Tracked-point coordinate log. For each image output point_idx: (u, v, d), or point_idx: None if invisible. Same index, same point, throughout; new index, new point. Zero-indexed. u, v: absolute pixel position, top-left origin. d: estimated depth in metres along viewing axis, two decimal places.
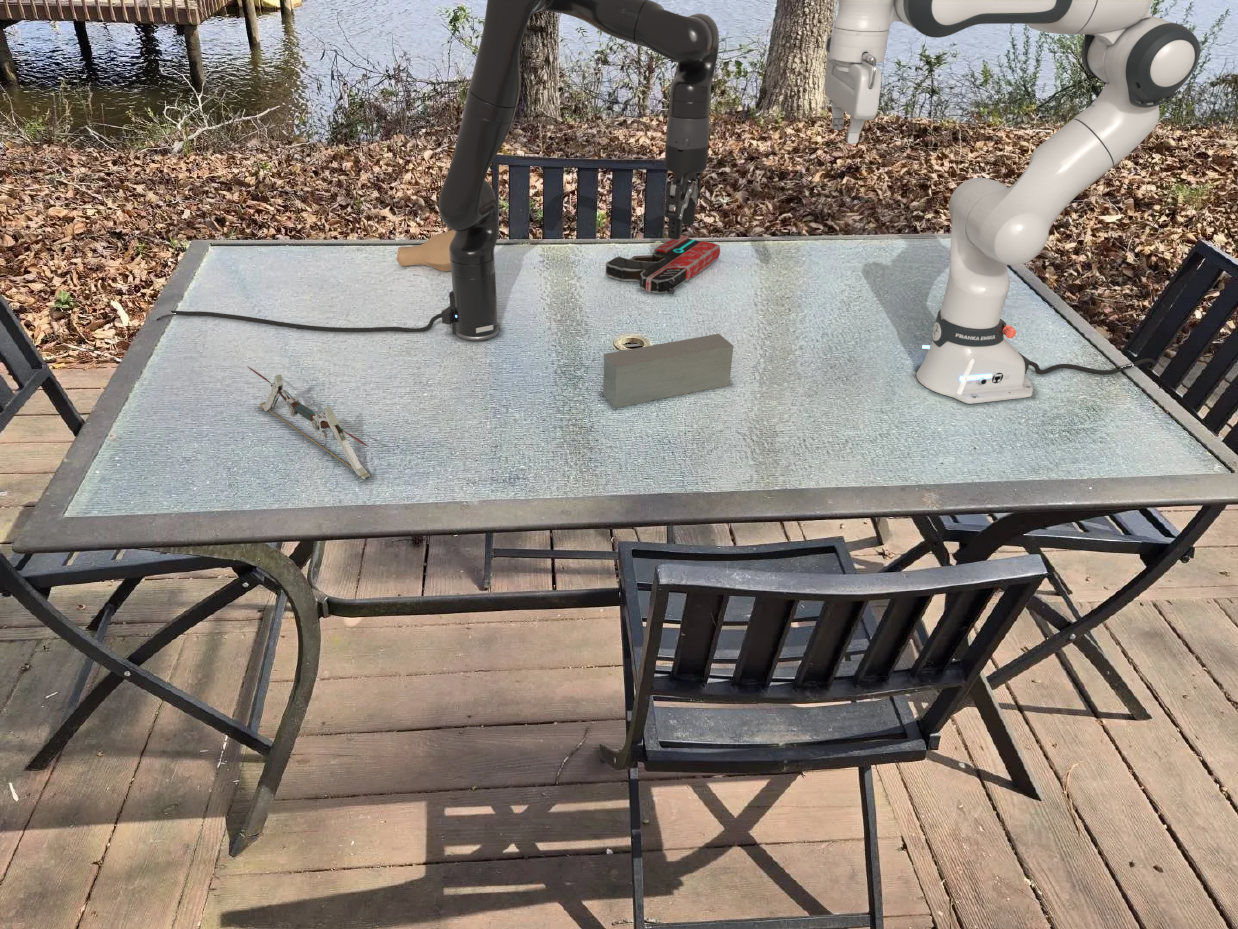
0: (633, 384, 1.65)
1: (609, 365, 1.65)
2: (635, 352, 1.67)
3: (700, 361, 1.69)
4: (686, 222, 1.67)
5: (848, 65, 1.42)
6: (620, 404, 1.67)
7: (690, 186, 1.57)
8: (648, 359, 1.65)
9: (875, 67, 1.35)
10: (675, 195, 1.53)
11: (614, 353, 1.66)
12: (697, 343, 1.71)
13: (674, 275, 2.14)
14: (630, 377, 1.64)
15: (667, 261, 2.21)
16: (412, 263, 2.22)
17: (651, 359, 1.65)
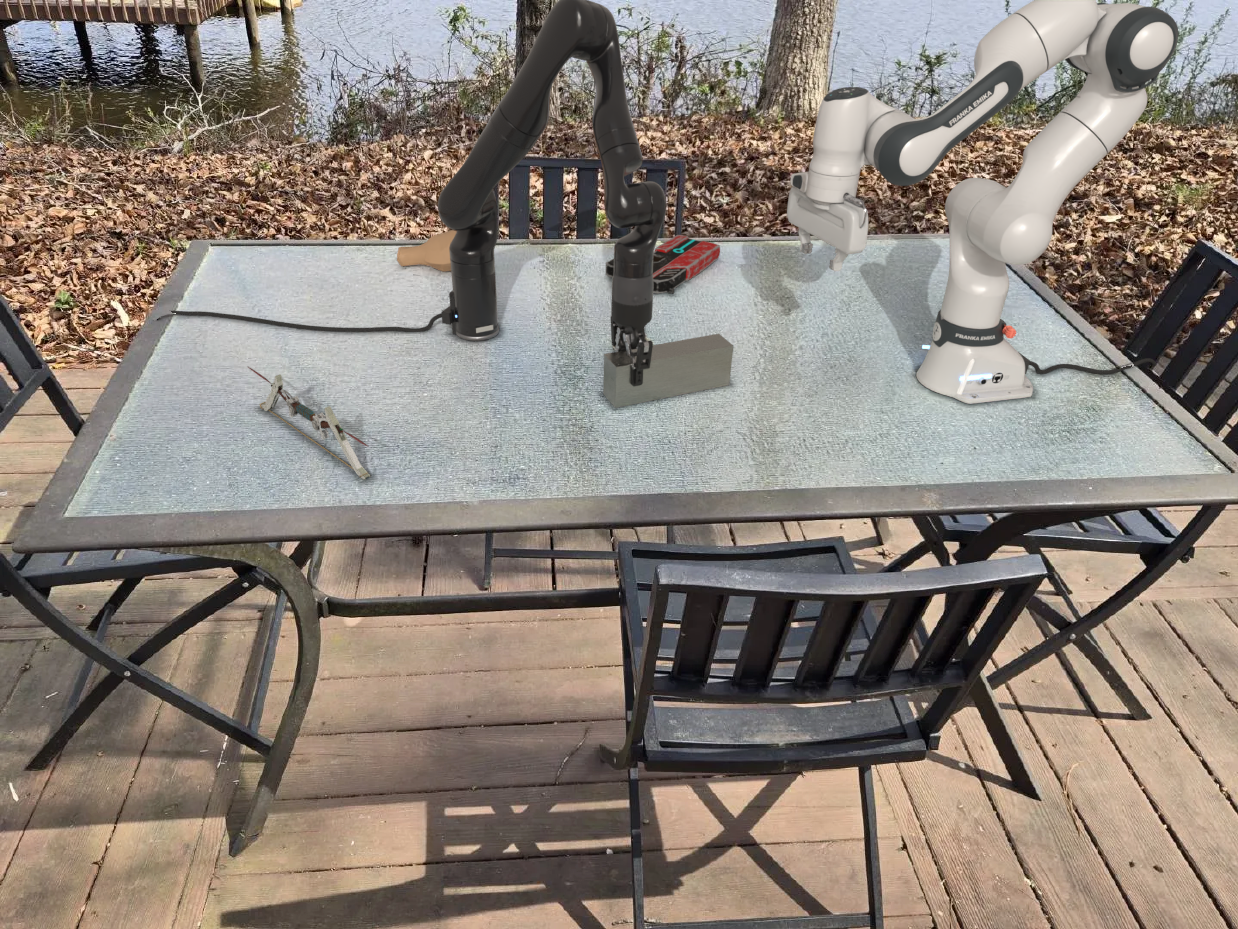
0: None
1: (609, 365, 1.65)
2: None
3: (700, 361, 1.69)
4: None
5: (829, 204, 1.54)
6: (620, 404, 1.67)
7: (618, 329, 1.64)
8: None
9: (866, 210, 1.49)
10: None
11: (614, 353, 1.66)
12: (697, 343, 1.71)
13: (674, 275, 2.14)
14: (630, 377, 1.64)
15: (667, 261, 2.21)
16: (412, 263, 2.22)
17: (651, 359, 1.65)
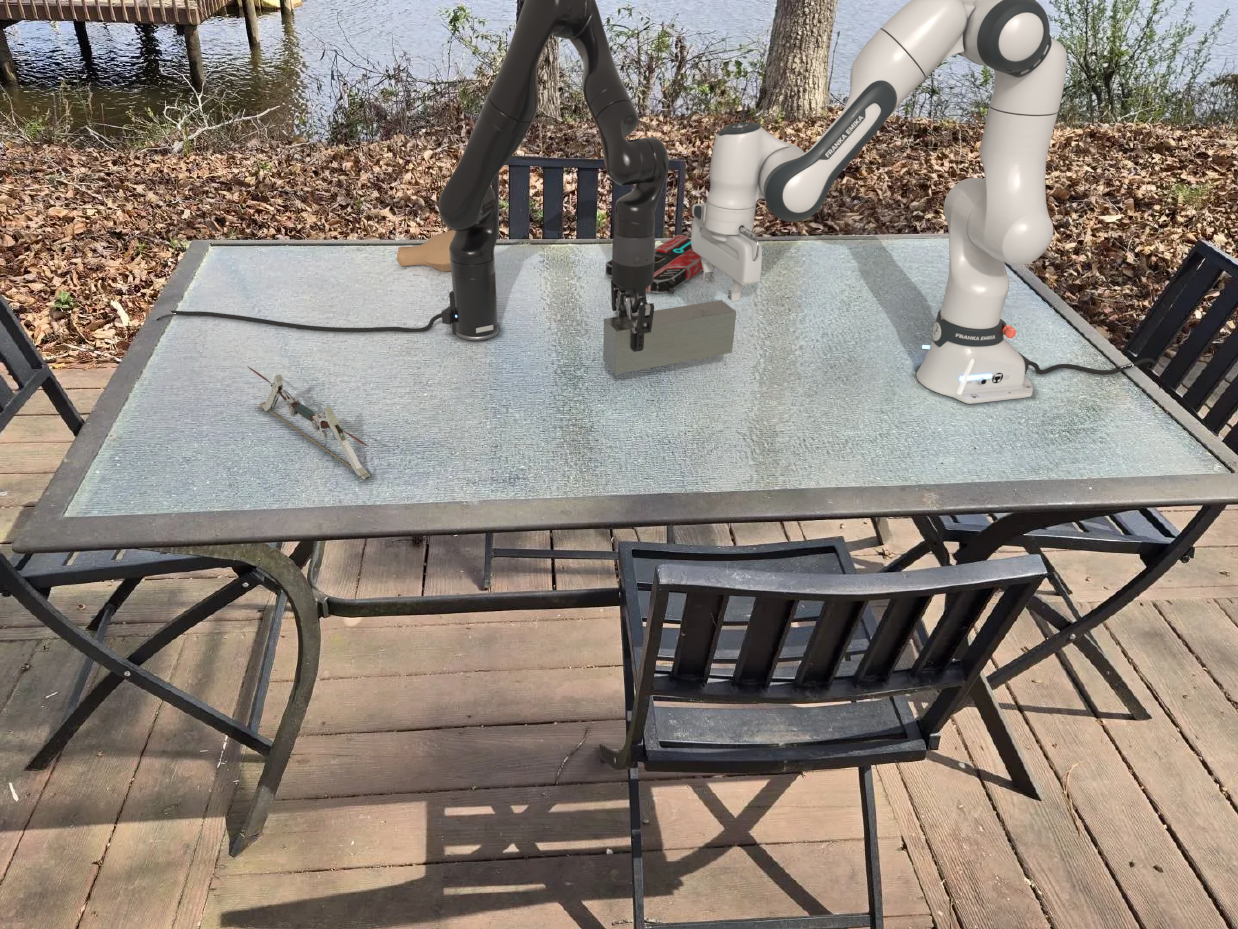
0: None
1: (609, 330, 1.61)
2: None
3: (702, 326, 1.65)
4: None
5: (725, 236, 1.56)
6: (620, 370, 1.63)
7: (618, 292, 1.59)
8: None
9: (758, 243, 1.51)
10: None
11: (614, 318, 1.62)
12: (699, 308, 1.67)
13: (674, 275, 2.14)
14: (631, 342, 1.60)
15: (667, 261, 2.21)
16: (412, 263, 2.22)
17: (653, 323, 1.61)
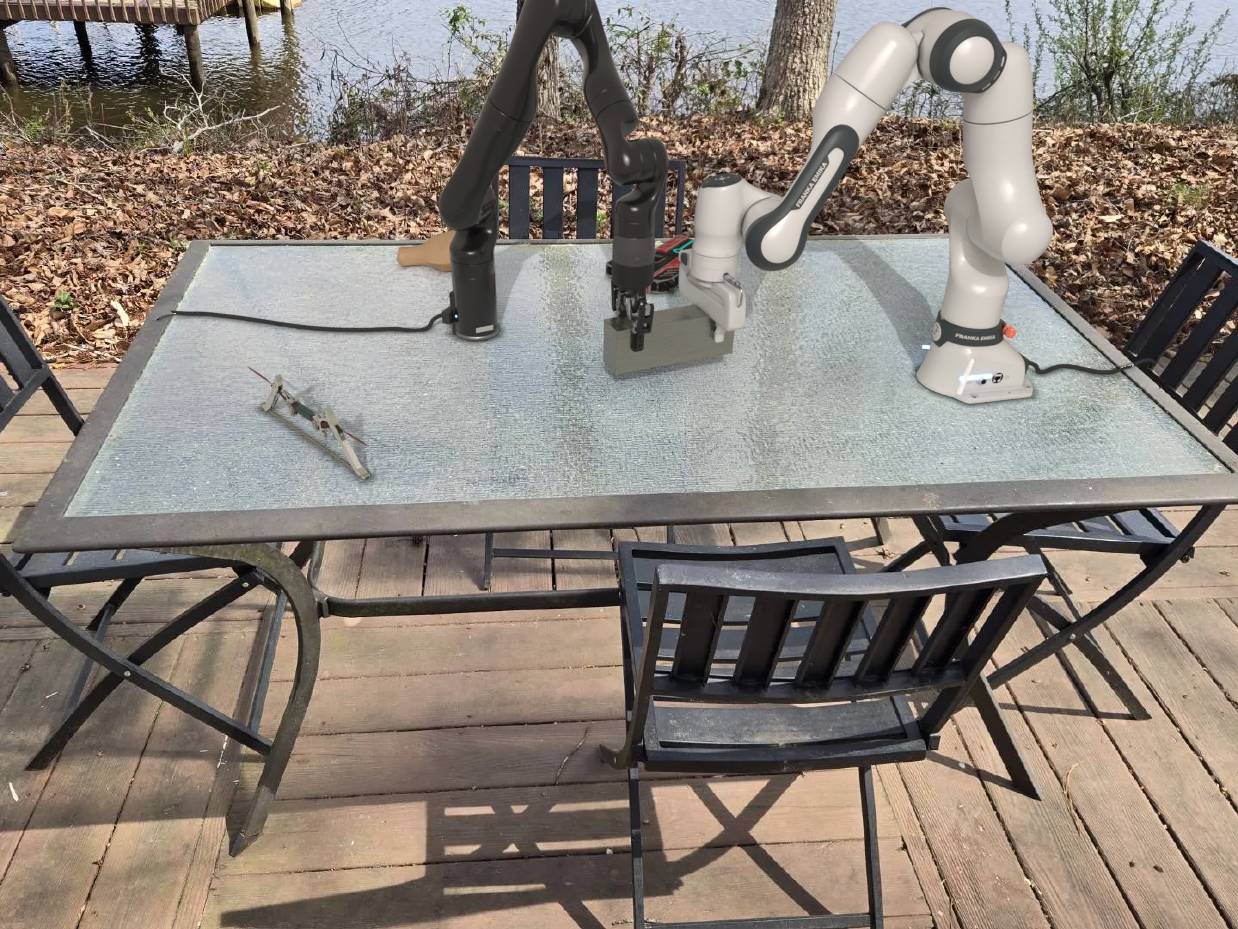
0: None
1: (609, 330, 1.61)
2: None
3: (702, 327, 1.65)
4: None
5: (711, 282, 1.61)
6: (620, 370, 1.63)
7: (618, 292, 1.59)
8: None
9: (742, 291, 1.56)
10: None
11: (614, 318, 1.62)
12: (699, 309, 1.67)
13: (674, 275, 2.14)
14: (631, 342, 1.60)
15: (667, 261, 2.21)
16: (412, 263, 2.22)
17: (653, 324, 1.61)
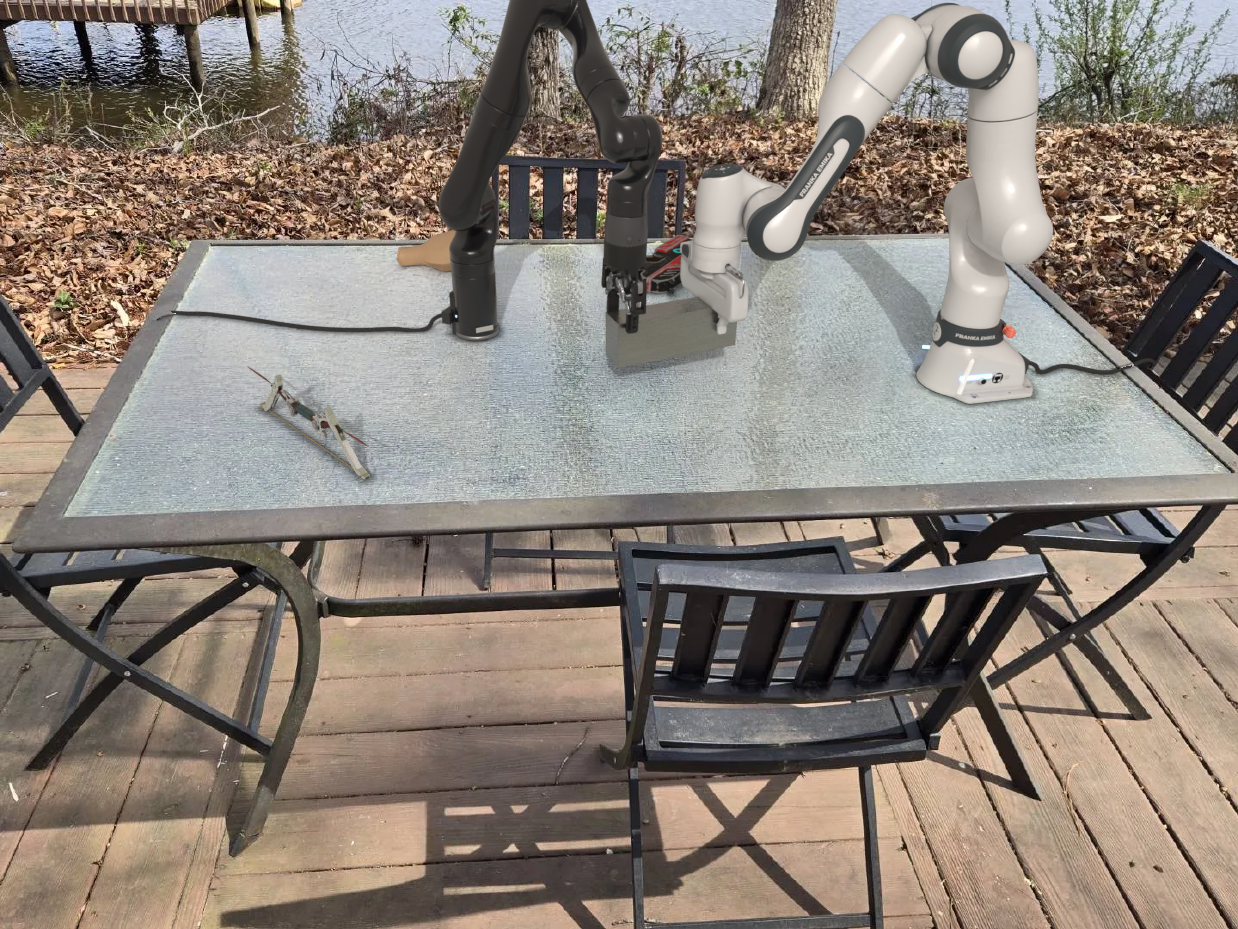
0: (636, 343, 1.61)
1: (611, 323, 1.60)
2: None
3: (704, 319, 1.64)
4: None
5: (712, 274, 1.60)
6: (623, 364, 1.62)
7: (610, 273, 1.57)
8: (651, 316, 1.60)
9: (744, 282, 1.55)
10: None
11: (616, 311, 1.62)
12: (701, 301, 1.66)
13: (674, 275, 2.14)
14: (633, 335, 1.60)
15: (667, 261, 2.21)
16: (412, 263, 2.22)
17: (655, 316, 1.60)
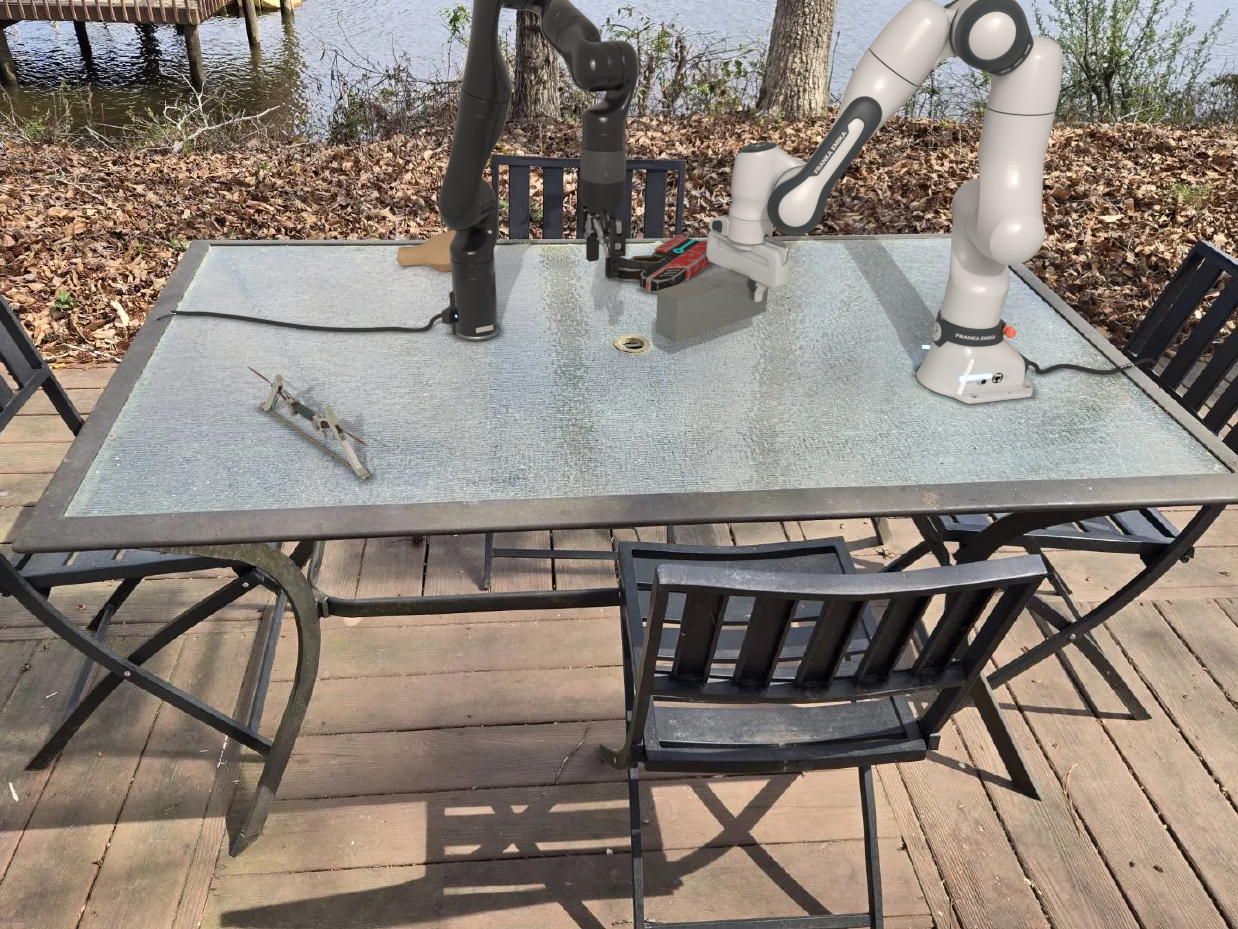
0: (690, 316, 1.68)
1: (666, 300, 1.67)
2: (686, 286, 1.70)
3: (744, 289, 1.74)
4: None
5: (751, 245, 1.71)
6: (679, 338, 1.69)
7: (588, 215, 1.49)
8: (701, 290, 1.68)
9: (787, 249, 1.66)
10: None
11: (667, 289, 1.69)
12: (736, 272, 1.76)
13: (674, 275, 2.14)
14: (688, 309, 1.67)
15: (667, 261, 2.21)
16: (412, 263, 2.22)
17: (705, 290, 1.68)
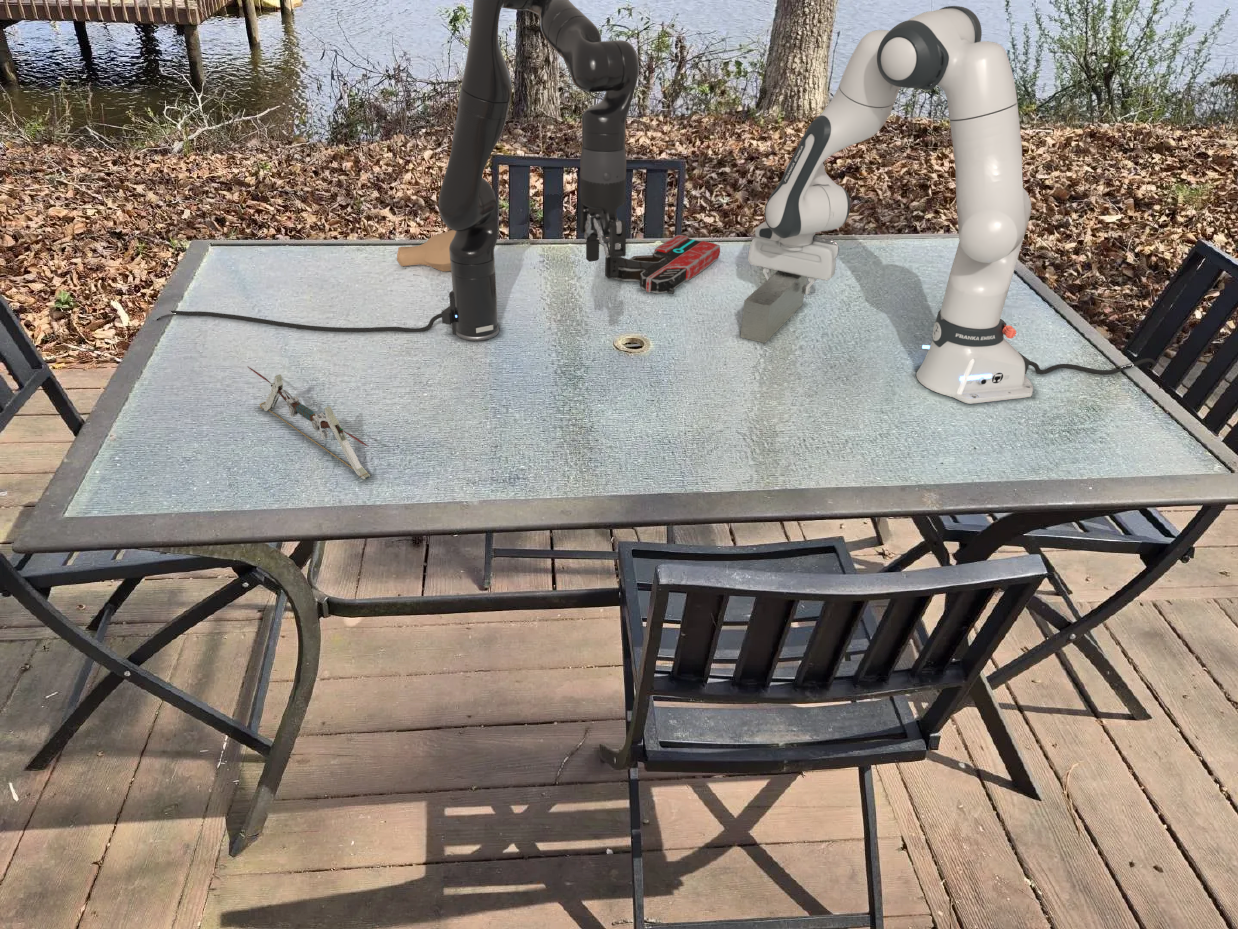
0: (773, 318, 1.92)
1: (755, 308, 1.89)
2: (761, 292, 1.93)
3: (796, 287, 2.01)
4: None
5: (802, 246, 1.97)
6: (767, 339, 1.92)
7: (588, 215, 1.49)
8: (777, 294, 1.92)
9: None
10: None
11: (750, 297, 1.90)
12: (784, 274, 2.02)
13: (674, 275, 2.14)
14: (773, 312, 1.91)
15: (667, 261, 2.21)
16: (412, 263, 2.22)
17: (779, 293, 1.93)
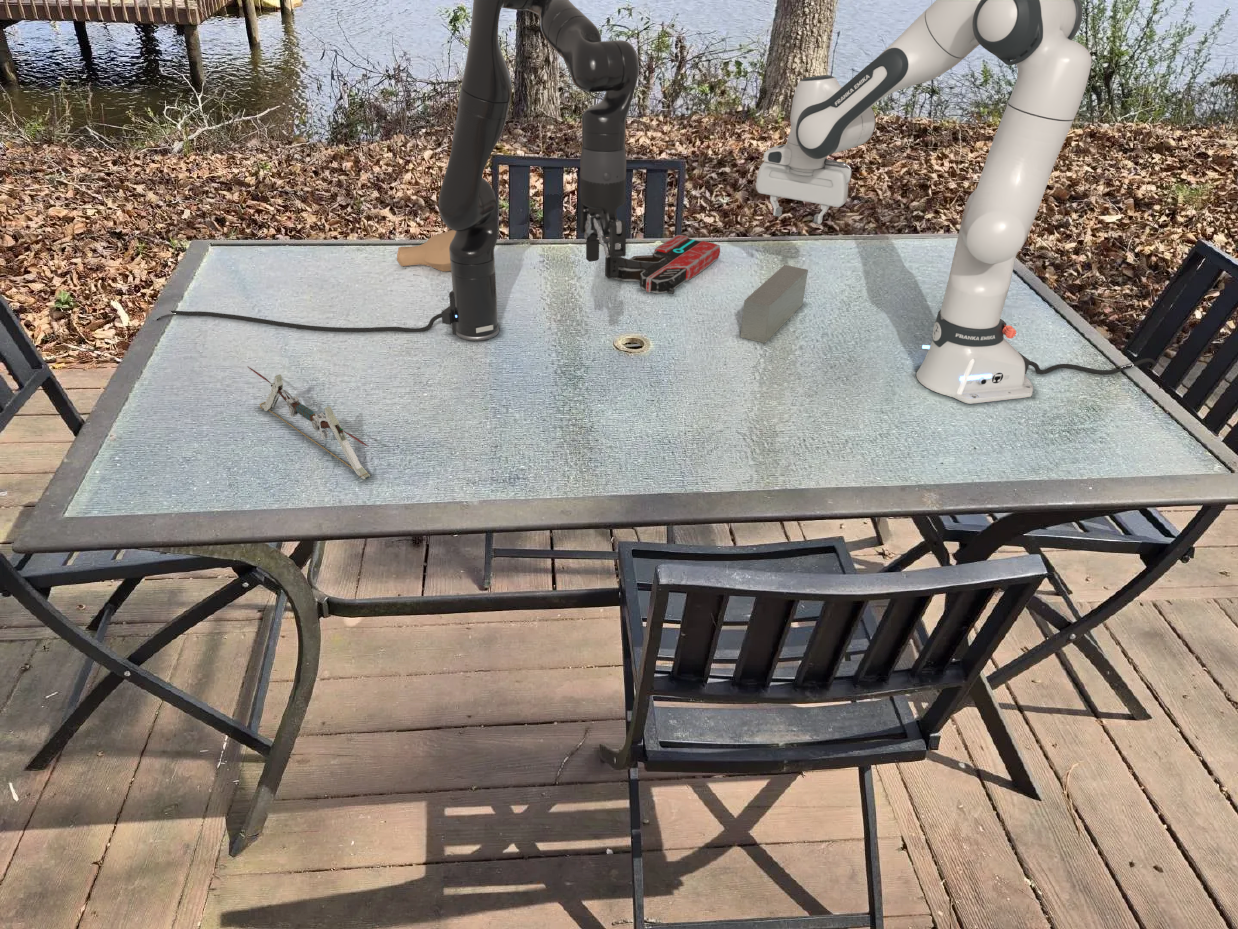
0: (773, 318, 1.92)
1: (755, 308, 1.89)
2: (761, 292, 1.93)
3: (796, 287, 2.01)
4: None
5: (813, 170, 1.88)
6: (767, 339, 1.92)
7: (588, 215, 1.49)
8: (777, 294, 1.92)
9: None
10: None
11: (750, 297, 1.90)
12: (784, 274, 2.02)
13: (674, 275, 2.14)
14: (773, 312, 1.91)
15: (667, 261, 2.21)
16: (412, 263, 2.22)
17: (779, 293, 1.93)
